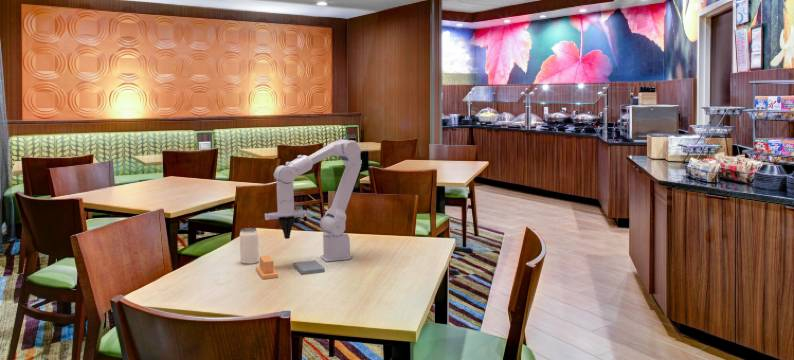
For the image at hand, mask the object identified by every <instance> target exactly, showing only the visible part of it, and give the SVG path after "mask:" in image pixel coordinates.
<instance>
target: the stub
mask: <svg viewBox="0 0 794 360" xmlns="http://www.w3.org/2000/svg"><path fill="white" fill-rule="evenodd" d="M255 271H256V272H257V273H258V274H259V276H260V277H261V278H262V280H265V279H266V280H267V279H275V278H279V273H277V271H276V270H275V269H274V260H273V259H272V258H271V257H270V255H261V256H260V255H259V266H255Z"/></svg>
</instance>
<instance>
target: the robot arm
mask: <svg viewBox="0 0 794 360" xmlns="http://www.w3.org/2000/svg"><path fill="white" fill-rule="evenodd" d="M361 152H362V149H361V147H360V145H359V143H358V142H357V141H356V140H352V139H351V140H348V139H344V138H340V139H337V140H335V141H332V142H329V144H327V145H325V146H324V147H322V148H320V149H319V150H317V151H315V152H314V153H312V154H310V155H305V154H303V155H302V154H299V155H296V156H297V157H296V158H295V159H293V160H292V161H286V162H285V165H283V164H282V165H278V166H277V167H276V168H275V169H274V172H273V178H274V179H275V181H276V202H277V203H276V204H277V211H276V212H269V213H264V219H265V221H269V220H277V221H278V223H279V225H280V228H281V229H282V233H283V237H284V239H285V240H288V239H291V238H290V237H291V232H292V230H293V229H292V228H293V226H294V224H295V222H296V218H298V217H299V218H300V217H308V211H307V209H306V210H305V209H303V210H295V199H294V198H295V197H294V192H295V191H294V181H295V179H296V178H297V177H299V176H302V175H304V174H305V173H307V172H308V171H311V170H312V168H313V166H314V165H315V164H317V163H320V161H323V160H325V159H327V158H329V157H331V156H337V157H338V158H339V159H340V160H341V161H342V163H343V165H344V171H343V173H342V176H341V178H340V181H339V184H338V186H337V189H336V193H335V195H334V197H333V198H334V199H333V200H332V204H331V206H330V207H329V208H328V209H327V210H326V211H325V214H324V215H323V216H322V217H321V219H320V221H319V226H320V228H321V230H322V232H323V233H322V242H323V244H322V248H323V255H320V258H321V259H322V260H323V261H325V262H333V261H343V260H344V261H345V260H350V259H352V257H351V241H350V236H349V233H344V232H345V231H346V221H347V214H346V210H347V207H348V204H349V202H350V198H351V196H352V193H353V190H354V187H355V185H356V182H357V179H358V177H359V174H360V170H361V167H362V161H361Z"/></svg>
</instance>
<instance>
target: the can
mask: <svg viewBox="0 0 794 360" xmlns="http://www.w3.org/2000/svg"><path fill="white" fill-rule="evenodd" d="M257 230H258V229H257V228H255V227H248V228H247V227H245V228H242V229H240V232H239V250H240V251H239V252H240V263H241V264H243V265H252V264H257V263H259V262H260V251H259V246H260V245H259V233H258V231H257Z"/></svg>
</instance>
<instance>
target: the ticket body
mask: <svg viewBox="0 0 794 360" xmlns="http://www.w3.org/2000/svg"><path fill="white" fill-rule="evenodd" d="M292 266H293V267H294V268H295V269H296V270H297V272H298V273H300V274H301V275H310V274H318V273H326V272H325V271H326V270H325V267H324V266H322V265H321V264H320V263H319V262H318V261H317V260H316V259H314V260H313V259H312V260H305V261H296V262H292Z"/></svg>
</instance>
